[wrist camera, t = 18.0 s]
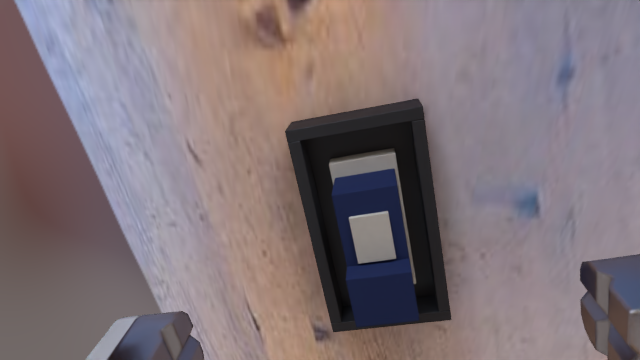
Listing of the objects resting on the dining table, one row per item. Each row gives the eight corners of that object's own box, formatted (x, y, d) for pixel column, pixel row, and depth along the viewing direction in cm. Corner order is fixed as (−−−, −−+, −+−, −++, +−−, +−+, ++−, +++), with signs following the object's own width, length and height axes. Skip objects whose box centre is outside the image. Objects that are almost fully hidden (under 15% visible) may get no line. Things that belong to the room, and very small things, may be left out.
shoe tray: (291, 121, 31) (284, 131, 29) (418, 98, 30) (422, 105, 27) (335, 311, 36) (333, 332, 34) (445, 299, 35) (451, 320, 32)
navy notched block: (415, 275, 34) (423, 326, 28) (356, 282, 34) (354, 333, 29) (394, 147, 30) (399, 177, 25) (329, 158, 31) (321, 190, 26)
